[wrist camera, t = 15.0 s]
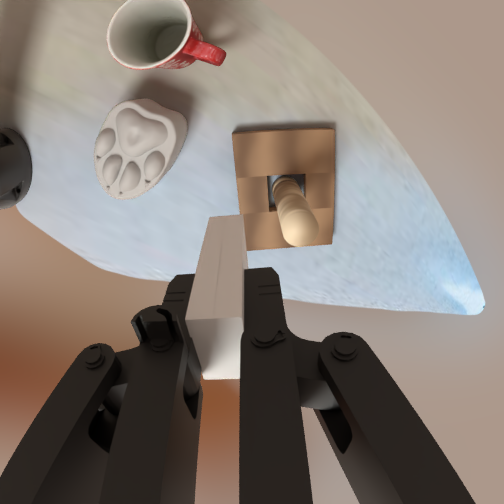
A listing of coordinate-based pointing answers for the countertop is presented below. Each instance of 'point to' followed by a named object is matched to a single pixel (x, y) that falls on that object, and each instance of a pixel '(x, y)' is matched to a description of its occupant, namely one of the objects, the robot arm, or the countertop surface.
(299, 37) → the countertop surface
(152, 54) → the mug
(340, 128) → the countertop surface
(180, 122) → the lumpy-topped squat cylinder
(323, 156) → the seat board
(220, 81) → the countertop surface
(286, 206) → the leg
